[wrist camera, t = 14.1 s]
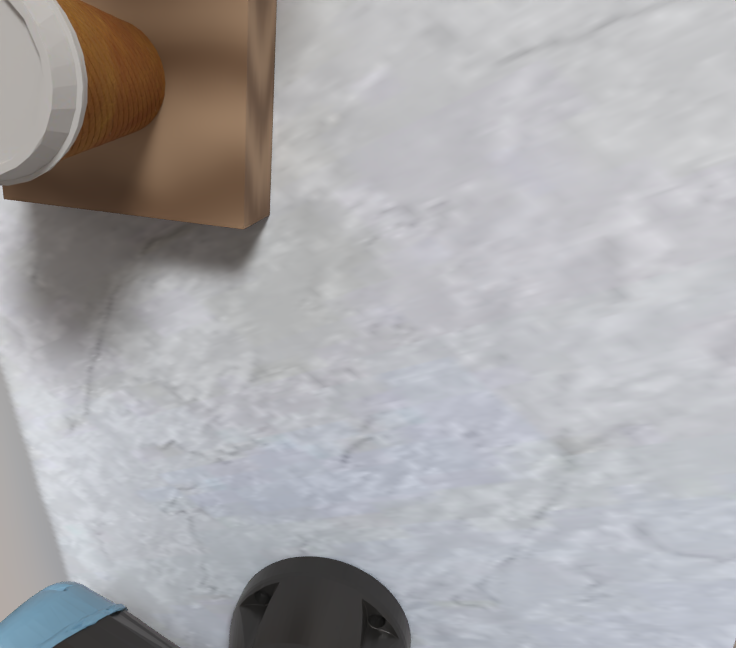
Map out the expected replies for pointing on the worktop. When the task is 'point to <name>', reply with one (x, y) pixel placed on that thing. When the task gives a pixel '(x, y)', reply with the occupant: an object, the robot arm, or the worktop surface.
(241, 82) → the walnut base
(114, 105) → the disposable coffee cup
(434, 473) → the worktop surface
